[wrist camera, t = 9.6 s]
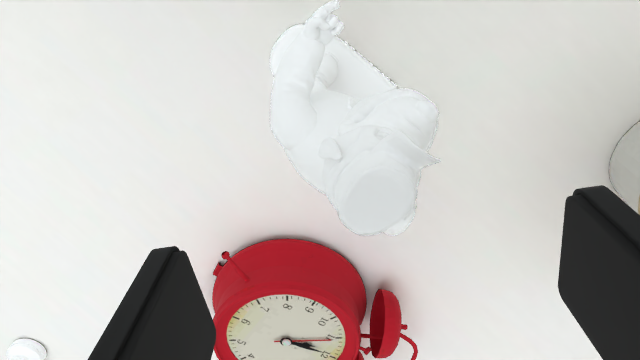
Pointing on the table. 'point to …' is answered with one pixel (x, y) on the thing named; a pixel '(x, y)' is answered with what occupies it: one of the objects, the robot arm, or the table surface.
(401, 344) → the table surface
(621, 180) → the coffee cup
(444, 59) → the table surface
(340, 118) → the figurine
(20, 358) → the chess pawn
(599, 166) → the table surface
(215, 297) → the alarm clock
